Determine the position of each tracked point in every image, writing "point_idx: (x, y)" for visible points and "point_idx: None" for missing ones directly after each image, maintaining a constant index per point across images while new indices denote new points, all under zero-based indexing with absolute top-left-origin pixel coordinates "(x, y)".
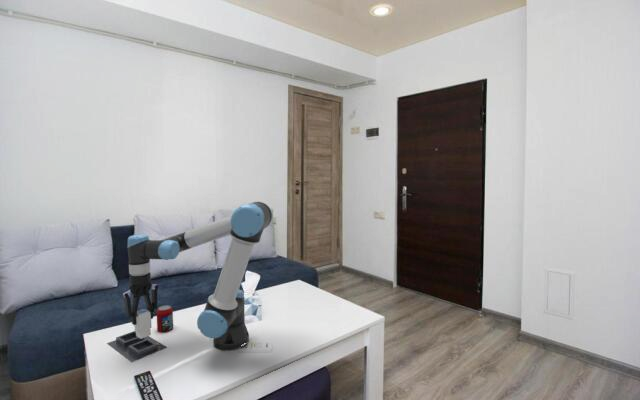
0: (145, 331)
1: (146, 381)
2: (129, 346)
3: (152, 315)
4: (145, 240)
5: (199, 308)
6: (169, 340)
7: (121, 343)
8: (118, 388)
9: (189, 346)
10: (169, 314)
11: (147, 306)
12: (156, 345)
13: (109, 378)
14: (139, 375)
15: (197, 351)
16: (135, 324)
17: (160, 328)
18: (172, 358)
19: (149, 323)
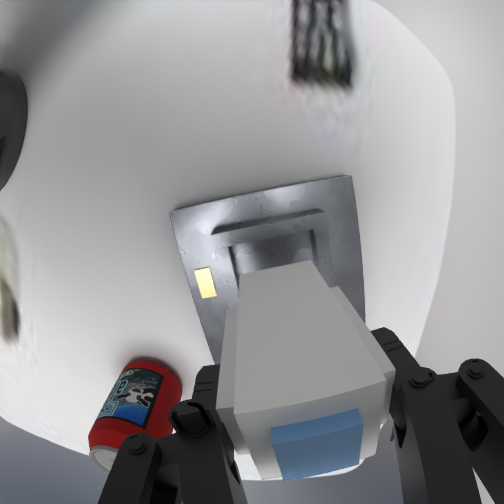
0: (280, 282)
1: (320, 21)
2: None
3: (198, 388)
4: None
5: (54, 434)
6: (146, 307)
7: None
8: (406, 57)
9: (86, 187)
10: (104, 420)
11: (240, 494)
12: (217, 232)
13: (424, 146)
14: (335, 76)
15: (77, 119)
16: (372, 331)
17: (165, 390)
18: (176, 118)
19: (244, 317)
